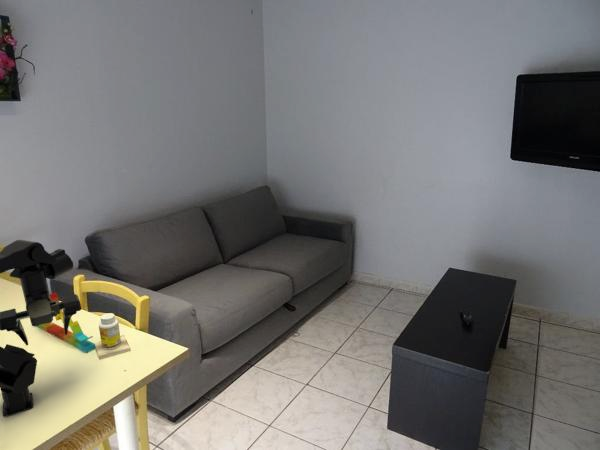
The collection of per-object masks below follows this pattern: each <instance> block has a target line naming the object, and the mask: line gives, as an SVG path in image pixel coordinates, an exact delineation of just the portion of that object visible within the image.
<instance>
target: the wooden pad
mask: <svg viewBox="0 0 600 450" xmlns="http://www.w3.org/2000/svg"><path fill="white" fill-rule="evenodd" d="M120 339H121V344H120V345H119V346H118V347H116V348H114V349H104V348H103V347H102V344H101V340H100V341H95V342H93V343H94V344H95V348H96V349H95V351H96V354H97V356H98V359H99V360H102V359H105V358H106V359H107V358H110V357H113V356H116V355H120V354H123V353H127V352H131V346H130V344H129V341H128V339H127V338H126V335H124V334H122V335H120Z"/></svg>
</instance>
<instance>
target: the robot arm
mask: <svg viewBox="0 0 600 450" xmlns="http://www.w3.org/2000/svg"><path fill="white" fill-rule="evenodd" d="M73 269H74V262H73V260H72V259H71V257H70V256H69V254H67V253H66V250H65V249H62V248H61V249H60V248H58V249H55V250H54V251H53V252H52V251H51V253H49V251H47V250H45V247H44V246H43V244H41V243H40V242H38V241H33V240H32V241H30V240H25V239H17V240H14V241H13V242H11V243H9V244H7V245H6V246H4V247H3V248H2V250H1V251H0V274H3V273H5V272H7V271H10V270H12V271H11V272H10V273H9V278H14V279H19V281H20V286H21V288H22V289H21V290H22V292H23V293H22V294H23V296H24V297H23V298H24V302H25V310H24V311H19V312H17V308H10V309H8V310H7V309H6V310H2V311H0V331H7V332H14V333H16V335H17V336H18V338H20V340H22V342H23V343H24V344H25V345H26V346H29V340H28V337H27V334H26V332H25V329H24V326H23V324H22V321H21V320H24V319H29V321H30V324H31V326H32V327H37V326H39V325H41V324H45V323H50V322H52V323H53V322H54V318H55V316H57V314H60V310H61V309H62V311H63V322H62V323H63V328H64V331H65V335H67V332H68V331H69V327H70V325H69V322H70V319H72V316H74V315H76V314H77V313H78V312H80V311H81V310H82V305H81V304H82V303H81V301H80V298H79V296H78V294H76V293H75V294H74V293H73V294H69V295H66V296H62V297H61V301H59V303H58V301H53V302H52V301H51V297H50V294H51V293H50V289H49V285H48V279H49V280H55V279H56V278H59V277H62V276H63V275H64V274H65V275H66V274H67V273H69V272H71V271H72V270H73ZM37 363H38V360H37V358H35V353H32V352H29V351H28V350H27V349H24V348H22V347H19V346H16V345H11V344H8V343H6V344H5V345H4V347H2V346H0V393H1V397H2V400H3V401H2V415H3V416H2V417H4V418H5V417H8V416H11V415H15V414H17V413H20V412H24V411H28V410H30V409H32V408H34V397H33V396H34V395H33V393H32V392H30V389H29V387H30V386H32V385H33V384H34V383H35V379H36V378H35V377H36V372H37V365H38V364H37Z"/></svg>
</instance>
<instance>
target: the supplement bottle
mask: <svg viewBox="0 0 600 450" xmlns="http://www.w3.org/2000/svg"><path fill="white" fill-rule="evenodd" d="M98 328H99V329H98V330H99V335H100V336H99V337H100V341H101V344H102V347H103V348H104V349H114V348H116V347H118V346H119V345H120V344H121V339H120V336H121V332H120V325H119V320H118V319H117V318H116V315H115V314H114V313H112V312H110V313H109V312H108V313H107V312H106V313H104V314H102V315H101V316H100V322H99V323H98Z"/></svg>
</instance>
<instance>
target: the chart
mask: <svg viewBox="0 0 600 450" xmlns="http://www.w3.org/2000/svg"><path fill="white" fill-rule="evenodd" d="M50 297H51V301H52V302H53V301H58V303H59V302H60V300H59V297H58V294H57V292H54V293H50ZM54 318H55V320H56V322H57V321H60V320H61V322H62V323H63V309H61V310H60V314H57V316H54ZM36 327H37V328H39V329H41V330H43V331H44V332H46V333H48V334H50V335H52V336H54V337H56V338H58V339H59V340H62V341H64V343H65V342H66V343H67V344H69V345H71V346H73V347H75V348H76V349H79V350H80V351H82V352H84V353H85V354H88V353H89V352H92V351H93V350H96V348H95V344H94V343H95V342H92V341H91V340H90V339H92V338H93V335H92V336H89V337H88V336H87V334H84V332H83V330H82V328H81V326H80V322H78V320H75V321H74V320H72V318H71V319H70V322H69V327H70V329H71V331H70V330H68V332H67V335H65V331H64V327H62V326H60V325H58V324H56V323H55V322H53V321H52V322H50V323H45V324H41V325H39V326H36Z"/></svg>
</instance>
